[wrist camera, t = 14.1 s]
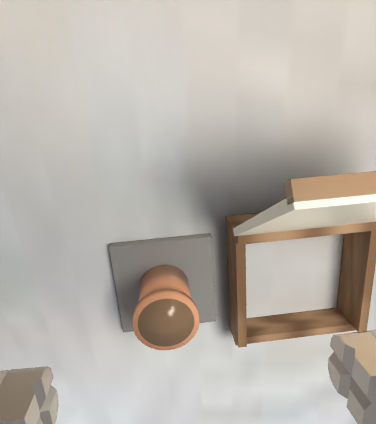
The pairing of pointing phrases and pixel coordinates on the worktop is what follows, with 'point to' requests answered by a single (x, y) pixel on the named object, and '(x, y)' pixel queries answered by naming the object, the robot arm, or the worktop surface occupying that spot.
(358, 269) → the frame
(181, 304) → the terracotta pot
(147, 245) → the slate tile
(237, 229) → the cold frame lid
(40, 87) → the worktop surface
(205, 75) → the worktop surface
